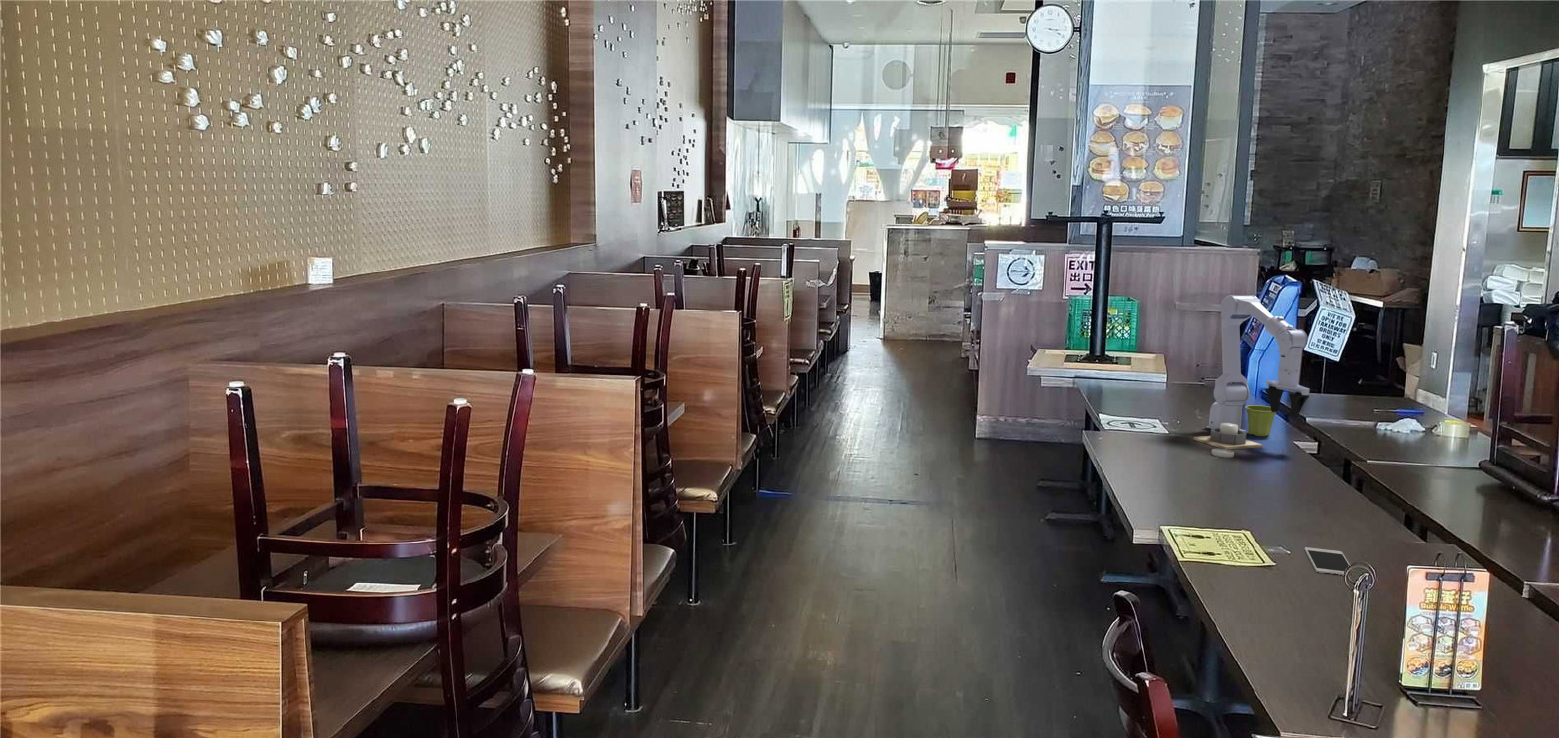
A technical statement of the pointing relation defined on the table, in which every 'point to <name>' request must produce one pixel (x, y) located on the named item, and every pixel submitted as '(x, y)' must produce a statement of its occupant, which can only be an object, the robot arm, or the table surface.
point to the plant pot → (1259, 420)
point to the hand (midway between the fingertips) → (1284, 414)
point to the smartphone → (1327, 560)
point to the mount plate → (1228, 446)
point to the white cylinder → (1228, 428)
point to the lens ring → (1228, 437)
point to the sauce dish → (1223, 453)
